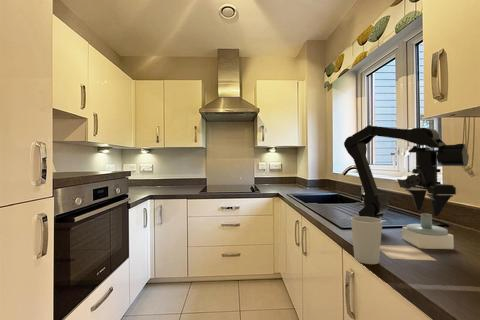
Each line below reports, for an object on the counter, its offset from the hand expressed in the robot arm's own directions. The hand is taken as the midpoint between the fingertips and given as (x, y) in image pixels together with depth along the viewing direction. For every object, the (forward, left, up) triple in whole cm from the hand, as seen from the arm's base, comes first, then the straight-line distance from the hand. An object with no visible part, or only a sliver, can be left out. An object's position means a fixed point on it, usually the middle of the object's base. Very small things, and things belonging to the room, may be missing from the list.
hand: (426, 213), depth 85 cm
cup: (+16, -25, -11) cm, 32 cm away
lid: (0, 0, -6) cm, 6 cm away
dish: (0, 0, -11) cm, 11 cm away
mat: (+9, -12, -11) cm, 19 cm away
